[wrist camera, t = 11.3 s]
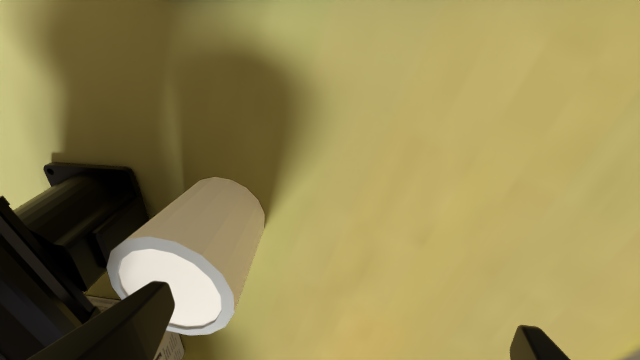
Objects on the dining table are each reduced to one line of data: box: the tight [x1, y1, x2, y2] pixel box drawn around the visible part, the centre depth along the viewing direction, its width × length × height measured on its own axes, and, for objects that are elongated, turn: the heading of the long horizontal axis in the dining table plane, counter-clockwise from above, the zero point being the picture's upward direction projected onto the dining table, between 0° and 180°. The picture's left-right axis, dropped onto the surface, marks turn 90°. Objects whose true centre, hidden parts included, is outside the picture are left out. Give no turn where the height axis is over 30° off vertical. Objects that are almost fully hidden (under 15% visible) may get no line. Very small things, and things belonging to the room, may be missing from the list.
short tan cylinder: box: [107, 177, 265, 335], centre depth 21 cm, size 7×7×7 cm
